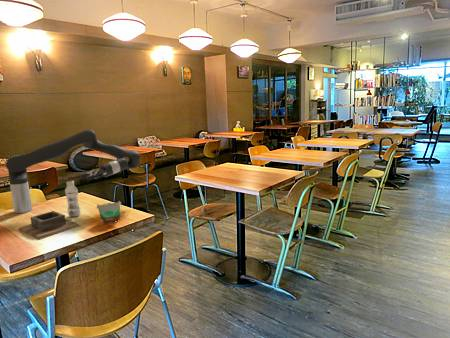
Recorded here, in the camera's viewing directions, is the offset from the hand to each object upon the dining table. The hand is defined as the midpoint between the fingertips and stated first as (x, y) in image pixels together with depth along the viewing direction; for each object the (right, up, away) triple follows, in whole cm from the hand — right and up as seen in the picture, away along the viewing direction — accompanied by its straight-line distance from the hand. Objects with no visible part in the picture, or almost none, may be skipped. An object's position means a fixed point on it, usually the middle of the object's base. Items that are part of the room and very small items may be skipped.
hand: (83, 178), depth 190 cm
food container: (+18, -23, -9) cm, 31 cm away
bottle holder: (-11, -25, -15) cm, 31 cm away
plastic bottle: (-6, -21, +2) cm, 22 cm away
